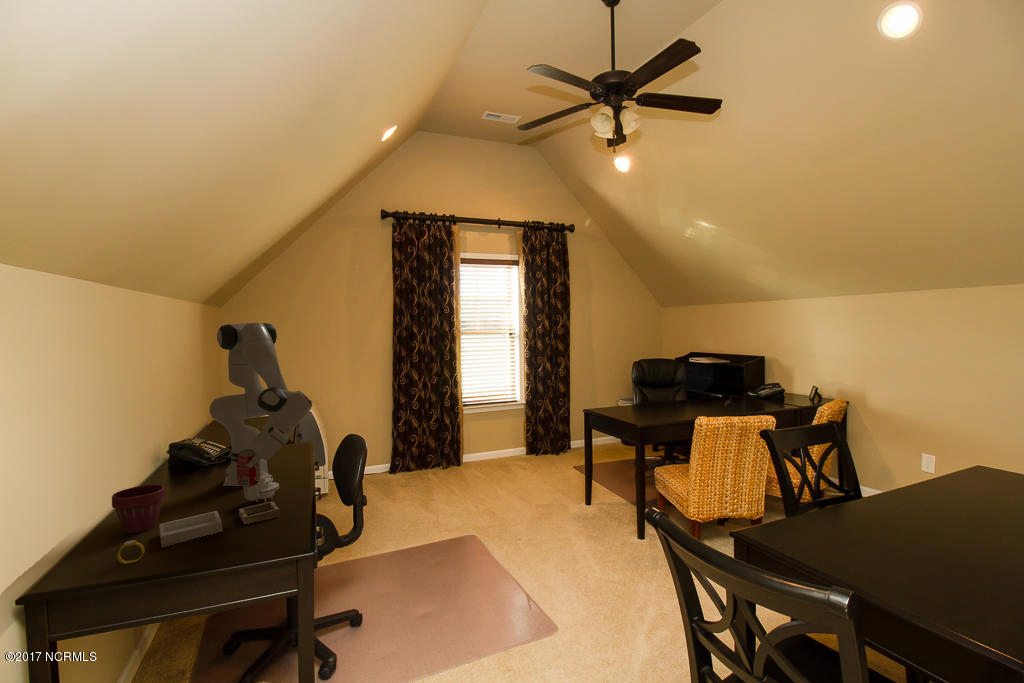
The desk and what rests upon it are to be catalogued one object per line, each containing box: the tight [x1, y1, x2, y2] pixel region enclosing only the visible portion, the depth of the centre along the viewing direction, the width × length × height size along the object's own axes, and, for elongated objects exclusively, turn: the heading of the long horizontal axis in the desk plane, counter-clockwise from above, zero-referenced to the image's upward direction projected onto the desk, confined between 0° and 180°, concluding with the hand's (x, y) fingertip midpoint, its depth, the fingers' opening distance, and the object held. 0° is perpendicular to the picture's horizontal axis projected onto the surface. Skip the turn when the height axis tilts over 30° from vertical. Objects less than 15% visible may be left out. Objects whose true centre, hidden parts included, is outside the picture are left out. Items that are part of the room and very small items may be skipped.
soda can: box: [237, 449, 260, 488], centre depth 164 cm, size 7×7×12 cm
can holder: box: [238, 500, 281, 526], centre depth 165 cm, size 11×11×2 cm
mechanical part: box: [243, 471, 280, 503], centre depth 181 cm, size 11×12×12 cm
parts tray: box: [159, 510, 223, 549], centre depth 153 cm, size 13×16×4 cm
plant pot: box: [111, 483, 166, 534], centre depth 159 cm, size 14×14×13 cm
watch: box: [116, 539, 145, 565], centre depth 134 cm, size 6×3×6 cm, turn 116°
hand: (246, 464), depth 163 cm, fingers closed on soda can, 6 cm apart
